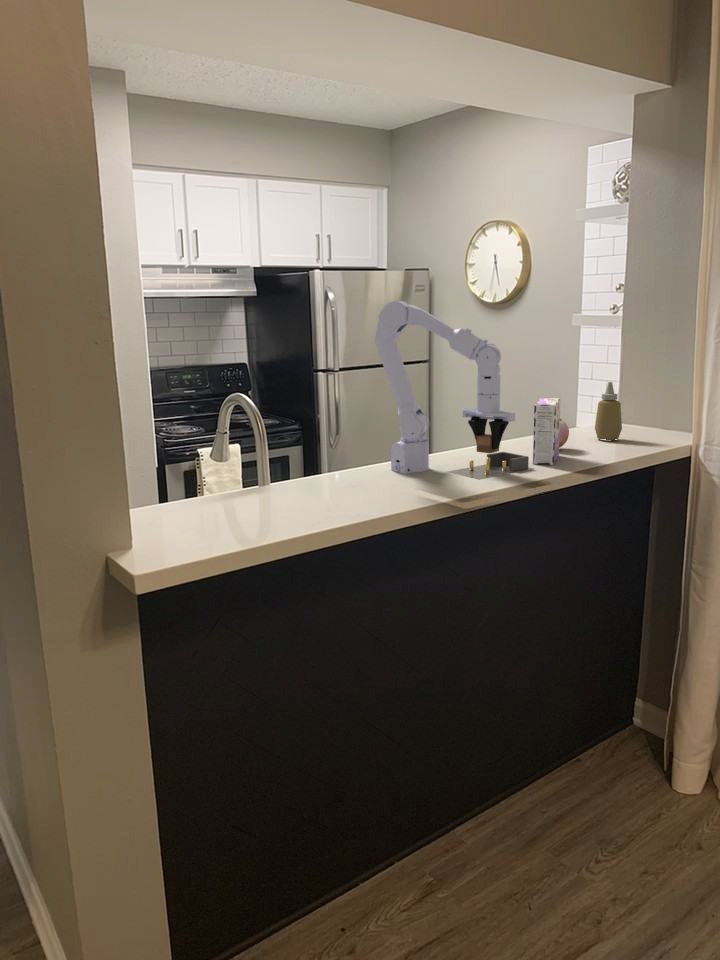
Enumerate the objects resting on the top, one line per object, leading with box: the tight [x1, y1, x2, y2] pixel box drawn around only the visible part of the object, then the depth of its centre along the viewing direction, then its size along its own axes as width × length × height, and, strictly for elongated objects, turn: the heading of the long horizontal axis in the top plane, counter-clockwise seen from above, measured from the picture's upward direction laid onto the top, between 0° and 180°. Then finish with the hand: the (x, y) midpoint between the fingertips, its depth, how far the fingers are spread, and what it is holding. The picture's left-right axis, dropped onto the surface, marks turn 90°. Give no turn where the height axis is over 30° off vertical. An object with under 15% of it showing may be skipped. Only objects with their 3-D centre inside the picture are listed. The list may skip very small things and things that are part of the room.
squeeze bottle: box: [594, 381, 623, 440], centre depth 240 cm, size 8×8×18 cm
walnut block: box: [476, 433, 500, 454], centre depth 196 cm, size 4×4×4 cm
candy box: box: [532, 397, 561, 466], centre depth 213 cm, size 14×6×16 cm, turn 161°
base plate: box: [446, 457, 535, 480], centre depth 198 cm, size 19×12×4 cm, turn 124°
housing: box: [486, 451, 529, 471], centre depth 201 cm, size 6×9×3 cm, turn 34°
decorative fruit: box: [559, 418, 570, 449], centre depth 228 cm, size 9×8×10 cm
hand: (488, 447), depth 196 cm, fingers closed on walnut block, 4 cm apart
